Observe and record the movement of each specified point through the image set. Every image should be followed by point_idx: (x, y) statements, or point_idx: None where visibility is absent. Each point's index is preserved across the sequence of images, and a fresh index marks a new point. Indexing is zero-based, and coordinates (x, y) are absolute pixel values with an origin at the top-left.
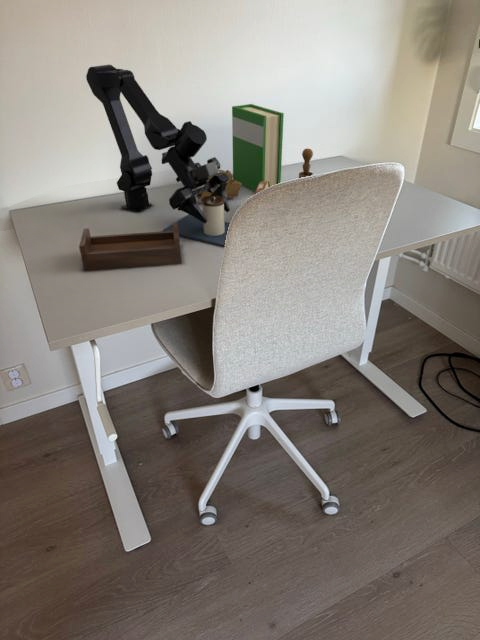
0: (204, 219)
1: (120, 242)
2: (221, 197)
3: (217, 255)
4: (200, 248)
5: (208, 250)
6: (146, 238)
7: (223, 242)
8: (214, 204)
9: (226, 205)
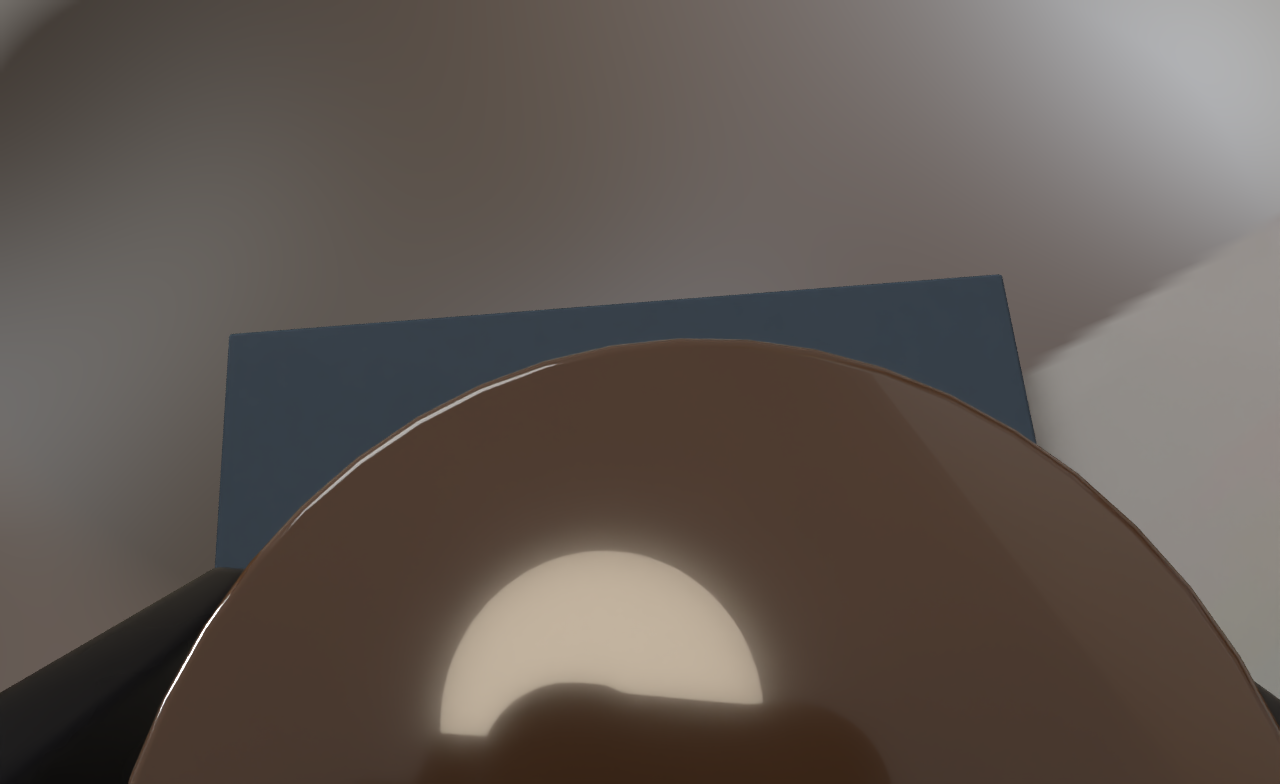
0: (1273, 705)
1: None
2: (251, 696)
3: (1255, 236)
4: (1276, 585)
5: (1234, 434)
6: None
7: (941, 348)
8: (1092, 503)
9: (168, 663)
